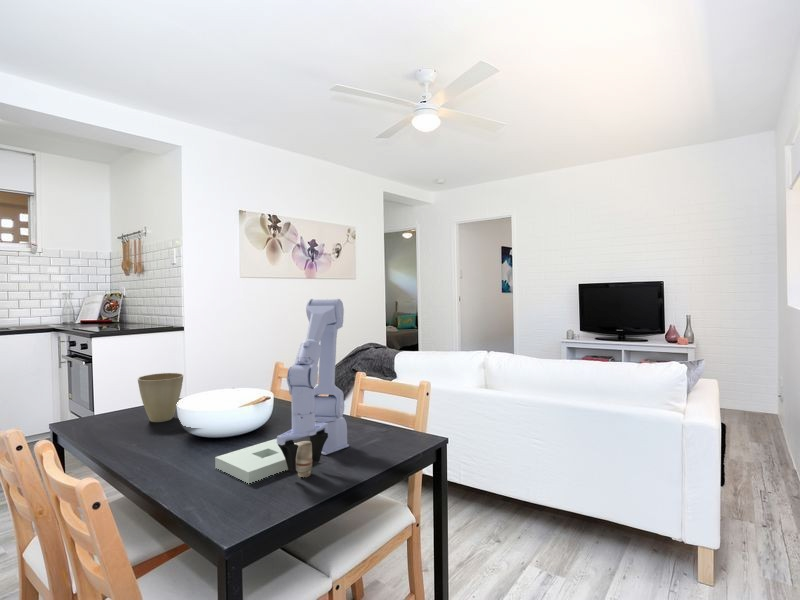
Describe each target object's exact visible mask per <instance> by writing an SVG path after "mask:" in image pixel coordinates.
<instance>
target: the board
mask: <svg viewBox="0 0 800 600" xmlns="http://www.w3.org/2000/svg"><path fill="white" fill-rule="evenodd" d="M296 443H297V442H294V444H296ZM214 460H215V461H214V463H215V465H214V467H215V469H216V468H217V469H216V470H218V469H219V470H218V471H220V470H222V471H223V472H222V471H221V472H222V473H224V472H226V473H228V474H230V475H232V476H234V477H236V478H238V479H240V480H242V481H244V482H243V483H245V482H246V483H245V484H247V483H248V484H247V485H250V484H249V483H251V484H253V483H252V482H254V483H256V482H255V481H257V482H259V481H262V480H264V479H263V478H265V477H267V478H269V477H268V476H270V475H273V476H275V475H274V474H276V473H278V474H280V473H279V472H281V473H283V472H282V471H284V472H285V470H286V471H289V470H288V467H287V463H286V460H285V457H284V455H283V453H282V451H281V449H280V447H279V446H278V444H277V438H274V439H271V440H267V441H263V442H261V443H257V444H254V445H251V446H246V447H244V448H241V449H237V450H234V451H231V452H228V453H225V454H221V455H218V456H215V457H214ZM312 462H314V461H313V460H312ZM226 473H225V474H226ZM228 474H227V475H228ZM230 475H229V476H230ZM276 475H277V474H276ZM232 476H231V477H232ZM234 477H233V478H234ZM270 477H271V476H270ZM236 478H235V479H236ZM238 479H237V480H238ZM261 479H262V480H261ZM265 479H266V478H265ZM240 480H239V481H240ZM258 480H259V481H258ZM242 481H241V482H242Z"/></svg>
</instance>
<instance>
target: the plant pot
mask: <svg viewBox="0 0 800 600" xmlns="http://www.w3.org/2000/svg"><path fill="white" fill-rule="evenodd" d="M183 382H184V374H183V373H178V372H161V373H152V374H145V375H142V376H139V377H137V383H138V389H139V393H140V397H141V401H142V402H141V403H142V404H143V407H144V410H145V412H146V415H147V417H148V420H149V421H150V422H151V423H163V422H168V421H171V420H173V418H174V416H175V413H176V410H177V408H176V404H177V402H178V403H179V400H180V397H181V392H182V387H183ZM177 405H178V404H177Z"/></svg>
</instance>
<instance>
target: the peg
mask: <svg viewBox="0 0 800 600" xmlns="http://www.w3.org/2000/svg"><path fill="white" fill-rule="evenodd" d="M295 443H296V445H298V449H297V454H296V469H295V471H296V472H297V477H298V478H301V477H303V478H304V477H305V478H308V477H311V475H312V474H311V473H312V472H311V471H312V470H313V461H312V442H311V441H310V440H302V441H297V442H295ZM305 478H304V479H305Z"/></svg>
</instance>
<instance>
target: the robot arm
mask: <svg viewBox="0 0 800 600" xmlns="http://www.w3.org/2000/svg"><path fill="white" fill-rule="evenodd" d="M305 309H306V310H305V312H306V317H307V319H308V328H307V333H306V338H305V340H303V341H302V342H301V343H300V344H299V348H298V351H297V354H296V358H295V359H294V360H295V361H294V363H293V365H292V366H290V367H288V369H287V376H286V382H287V386H288V393H289V395H290V397H291V402H290V403H291V429H289V430H287V431H285V432H283V433H282V434H279V435H277V436H276V439H277V444H278V446H279V447H280V449H281V451H282V453H283V455H284V457H285V460H286V463H287V467H288V470H287V471H290V472H295V471H296V454H297V449H298V445H296V444H294V443H295V442H294V441H297V440H299V439H302V438H306V437H309V439H310V440H309V441H310V442H312V460H313V461H312V462H316V463H320V460H321V456H322V455H324V456H327V455H329V454H332V453H335V452H338V451H340V450H343V449H345V448H348V447H350V444H348V425H347V421H346V419H345V417H344V416H343V415H344V412H345V400H344V391H343V390H342V389H341V388H339V387H338V386H336V384H335V383H336V361H337V360H336V359H337V358H336V357H337V337H338V336H337V335H338V330H340V329H341V328H343V327H344V326H343V324H344V313H345V312H344V311H345V310H344V304H343V301H342V299H340V298H333V299H328V298H327V299H314V298H310V299H309V300H308V301H307V303H306V308H305ZM318 364H319V365H318ZM317 382H318V383H317ZM320 395H321V396H320ZM330 395H331V396H330Z"/></svg>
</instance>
